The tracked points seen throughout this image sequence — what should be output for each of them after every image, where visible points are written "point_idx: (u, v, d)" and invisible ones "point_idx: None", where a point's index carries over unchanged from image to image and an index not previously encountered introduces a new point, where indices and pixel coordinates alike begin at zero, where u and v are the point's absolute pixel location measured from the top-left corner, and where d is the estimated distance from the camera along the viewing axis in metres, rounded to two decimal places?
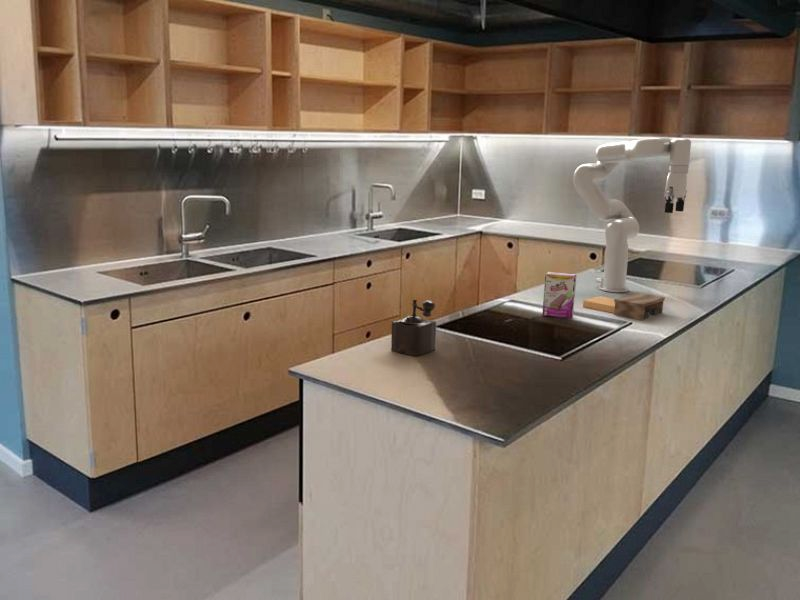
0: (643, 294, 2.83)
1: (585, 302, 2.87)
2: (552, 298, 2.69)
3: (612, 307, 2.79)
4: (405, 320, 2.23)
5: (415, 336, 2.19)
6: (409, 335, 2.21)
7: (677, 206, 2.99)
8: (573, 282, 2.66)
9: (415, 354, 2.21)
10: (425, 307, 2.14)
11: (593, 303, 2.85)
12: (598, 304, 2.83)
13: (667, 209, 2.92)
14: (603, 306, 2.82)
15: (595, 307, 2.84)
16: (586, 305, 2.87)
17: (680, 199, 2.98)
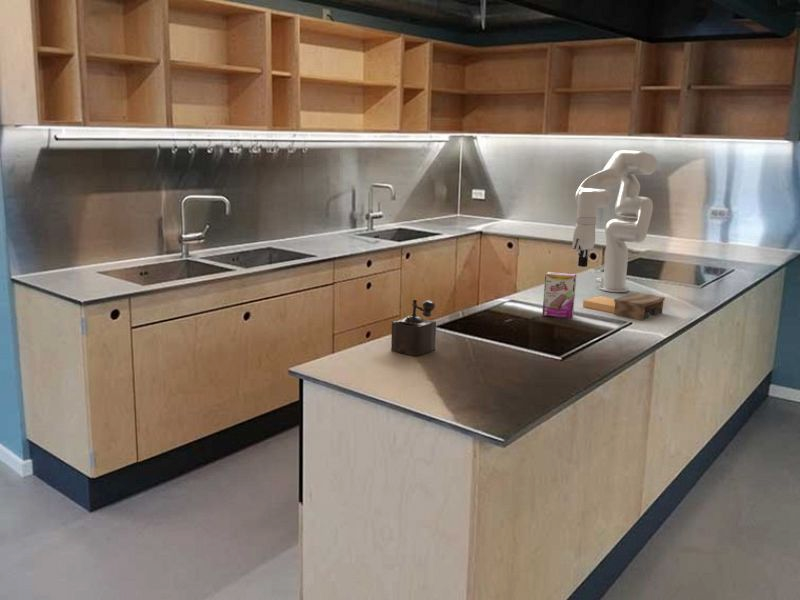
0: (643, 294, 2.83)
1: (585, 302, 2.87)
2: (552, 298, 2.69)
3: (612, 307, 2.79)
4: (405, 320, 2.23)
5: (415, 336, 2.19)
6: (409, 335, 2.21)
7: None
8: (573, 282, 2.66)
9: (415, 354, 2.21)
10: (425, 307, 2.14)
11: (593, 303, 2.85)
12: (598, 304, 2.83)
13: (580, 263, 2.91)
14: (603, 306, 2.82)
15: (595, 307, 2.84)
16: (586, 305, 2.87)
17: None
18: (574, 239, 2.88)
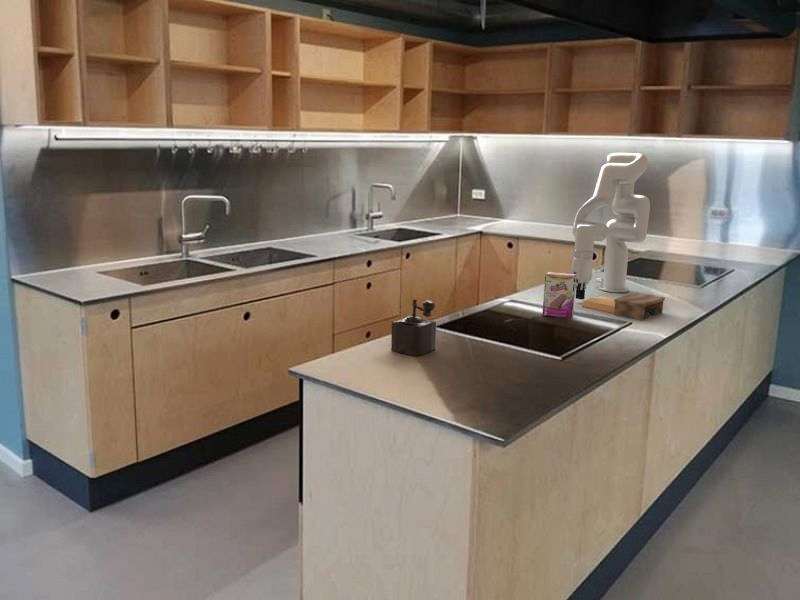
0: (643, 294, 2.83)
1: (585, 302, 2.87)
2: (552, 298, 2.69)
3: (612, 307, 2.79)
4: (405, 320, 2.23)
5: (415, 336, 2.19)
6: (409, 335, 2.21)
7: None
8: (573, 282, 2.66)
9: (415, 354, 2.21)
10: (425, 307, 2.14)
11: (593, 303, 2.85)
12: (598, 304, 2.83)
13: (577, 295, 2.94)
14: (603, 306, 2.82)
15: (595, 307, 2.84)
16: (586, 305, 2.87)
17: None
18: (571, 272, 2.91)
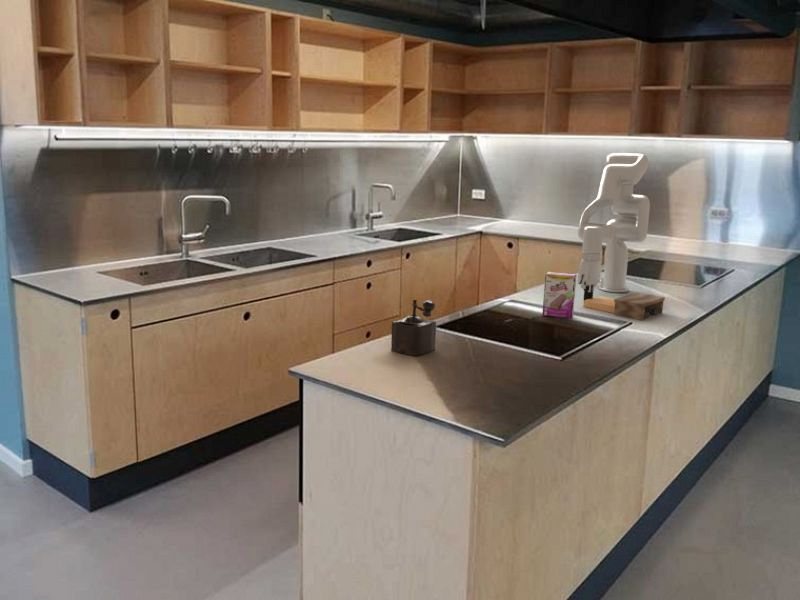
0: (643, 294, 2.83)
1: (585, 302, 2.87)
2: (552, 298, 2.69)
3: (613, 307, 2.79)
4: (405, 320, 2.23)
5: (415, 336, 2.19)
6: (409, 335, 2.21)
7: None
8: (573, 282, 2.66)
9: (415, 354, 2.21)
10: (425, 307, 2.14)
11: (594, 303, 2.85)
12: (599, 304, 2.83)
13: (585, 298, 2.92)
14: (604, 306, 2.82)
15: (596, 307, 2.84)
16: (587, 305, 2.87)
17: None
18: (579, 275, 2.88)
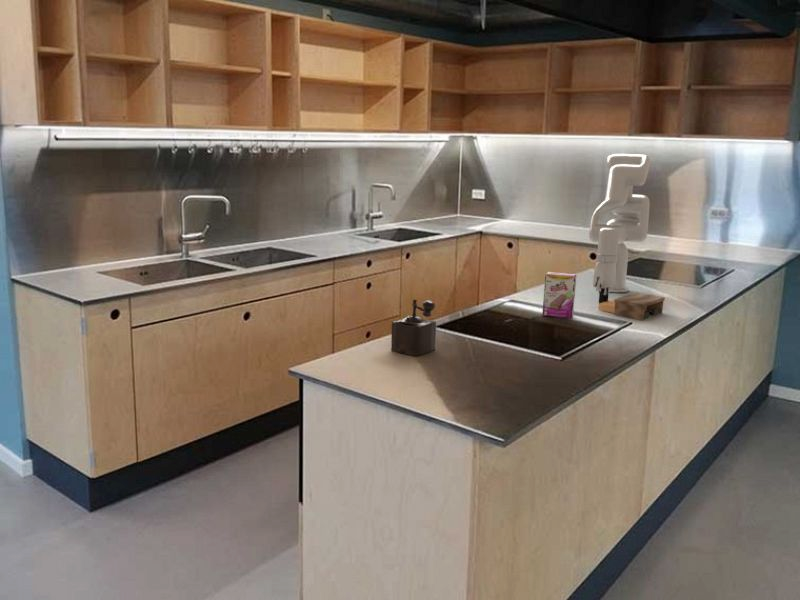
0: (643, 294, 2.83)
1: (600, 305, 2.82)
2: (552, 298, 2.69)
3: None
4: (405, 320, 2.23)
5: (415, 336, 2.19)
6: (409, 335, 2.21)
7: None
8: (573, 282, 2.66)
9: (415, 354, 2.21)
10: (425, 307, 2.14)
11: (609, 306, 2.80)
12: (614, 307, 2.78)
13: (601, 301, 2.87)
14: None
15: (611, 310, 2.79)
16: (602, 308, 2.82)
17: None
18: (595, 277, 2.83)
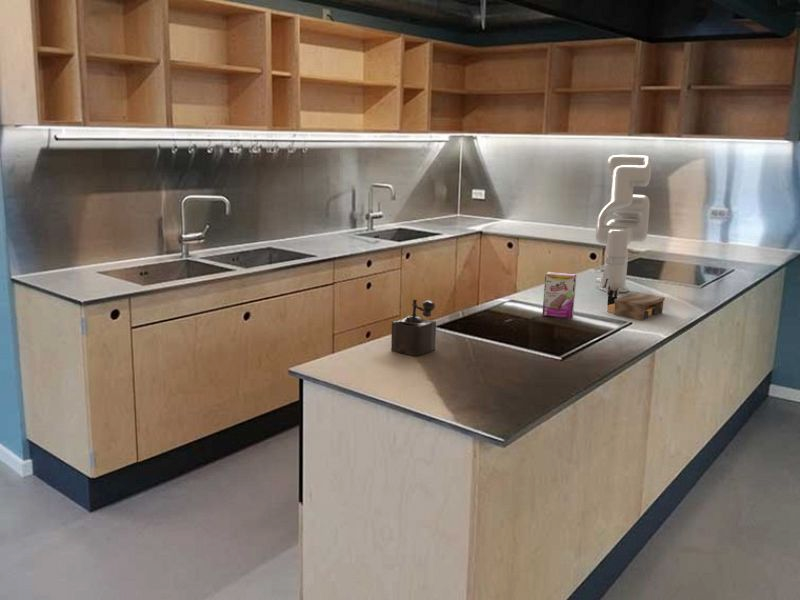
0: (643, 294, 2.83)
1: (609, 307, 2.80)
2: (552, 298, 2.69)
3: None
4: (405, 320, 2.23)
5: (415, 336, 2.19)
6: (409, 335, 2.21)
7: None
8: (573, 282, 2.66)
9: (415, 354, 2.21)
10: (425, 307, 2.14)
11: None
12: None
13: (609, 303, 2.85)
14: None
15: None
16: (611, 310, 2.79)
17: None
18: (603, 279, 2.81)
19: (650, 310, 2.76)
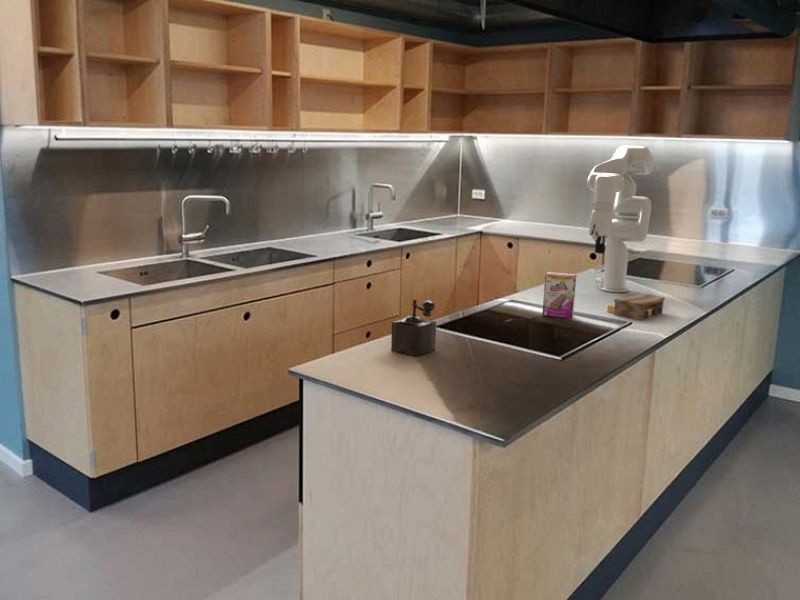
0: (643, 294, 2.83)
1: (609, 307, 2.80)
2: (552, 298, 2.69)
3: None
4: (405, 320, 2.23)
5: (415, 336, 2.19)
6: (409, 335, 2.21)
7: None
8: (573, 282, 2.66)
9: (415, 354, 2.21)
10: (425, 307, 2.14)
11: None
12: None
13: (597, 249, 2.85)
14: None
15: None
16: (611, 310, 2.79)
17: None
18: (591, 225, 2.81)
19: (650, 310, 2.76)
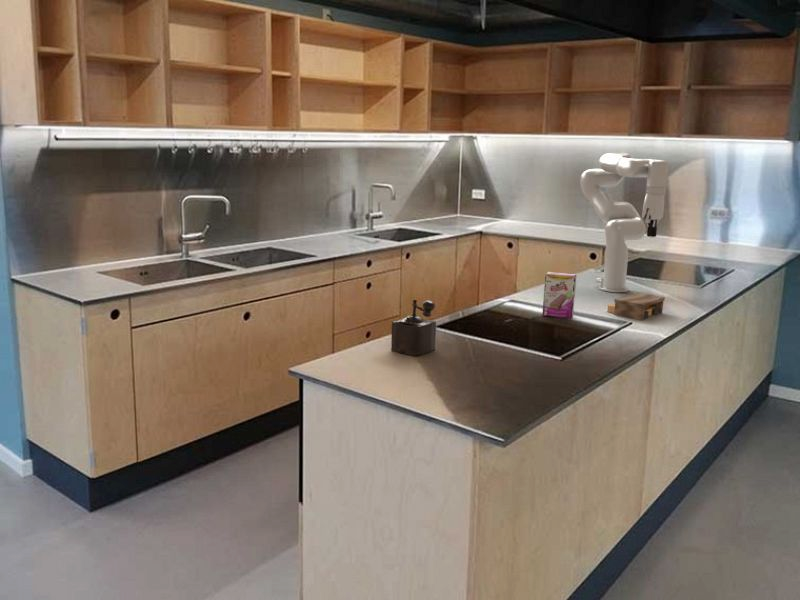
0: (643, 294, 2.83)
1: (609, 307, 2.80)
2: (552, 298, 2.69)
3: None
4: (405, 320, 2.23)
5: (415, 336, 2.19)
6: (409, 335, 2.21)
7: None
8: (573, 282, 2.66)
9: (415, 354, 2.21)
10: (425, 307, 2.14)
11: None
12: None
13: (649, 233, 2.93)
14: None
15: None
16: (611, 310, 2.79)
17: None
18: (644, 209, 2.89)
19: (650, 310, 2.76)
